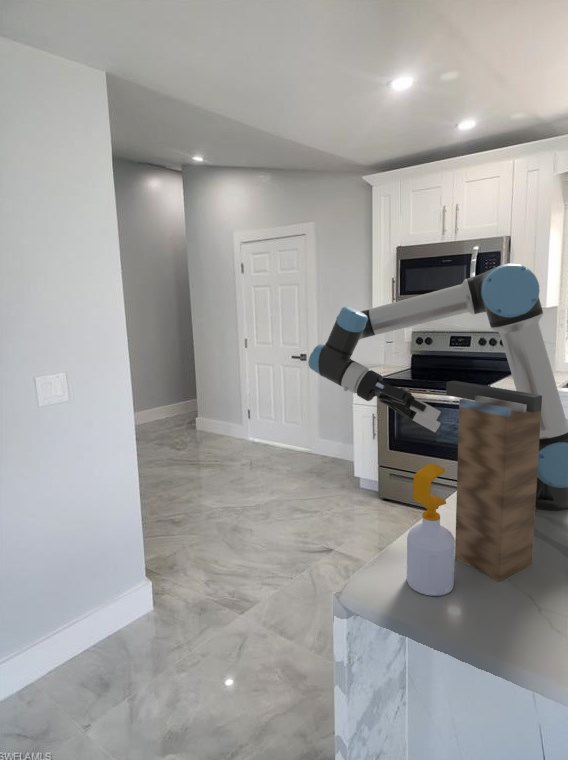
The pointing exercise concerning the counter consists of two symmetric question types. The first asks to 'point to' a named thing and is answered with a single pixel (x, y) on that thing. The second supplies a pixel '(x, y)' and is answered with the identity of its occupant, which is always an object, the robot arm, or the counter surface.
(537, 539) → the counter surface
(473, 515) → the wooden block tower
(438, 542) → the soap bottle
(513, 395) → the bar
